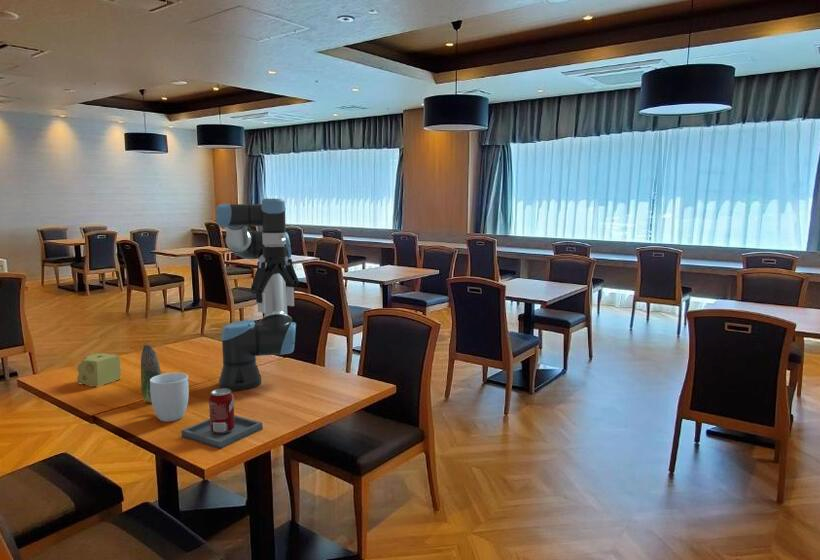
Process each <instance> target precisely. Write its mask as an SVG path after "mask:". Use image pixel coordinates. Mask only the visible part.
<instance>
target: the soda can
mask: <svg viewBox="0 0 820 560" xmlns="http://www.w3.org/2000/svg"><path fill="white" fill-rule="evenodd" d="M208 404H209V407H208V408H209V419H210V430H211V432H213V433H215V434H226V433H229V432H230V431H232V430H233V429H234V428H235V423H234V415H235V405H234V404H235V401H234V395H233V394H232V390H230V389H221V388H218V389H217V388H216V389H213V390H212V391H211V392H210V396H209V397H208Z"/></svg>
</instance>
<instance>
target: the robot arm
mask: <svg viewBox="0 0 820 560" xmlns="http://www.w3.org/2000/svg"><path fill="white" fill-rule="evenodd" d="M285 201H286V200H285V199H284V198H262V200H261V203H259V204H258V203H257V204H255V203H252V204H251V203H250V204H248V203H245V204H244V203H243V204H242V203H221V204H218V205H216V210H215V211H216V212H215V214H216V224H217V226H218V227H222V228H224V229H225V232H226V235H225V243H226V244H225V245H226V247H227V249H228V250H229V251H230V252H231V253H233V254H234V255H236V256H238V257H240V258H242V259H245V260H246V259H247V260H258V261H257V263H256V266H257V267H256V271H255V274H254V277H253V281H252V284H251V287H250V292H252V293H255V301H256V303H257V313H259V314H260V313H261V314H264V316H263V317H262V318H261V319H260V324H256V323H255V321H254V320H252V319H251V320H249V319H245V320H239V321H233V322H231V323H228V324H226V325H225V326H223V328H222V330H221V340H220V341H222V342H221V344H222V347H221V349H222V368H221V371H220V372H221V373H220V377H219V378H218V388H219V389H230V390H231V392H233V391H244V390H250V389H253V388H257V387H259V386H260V385H261V384H262V375H261V374H260V370H259V367H258V363H257V361H256V360H257V358H256V357H261V356H263V357H264V356H275V355H276V356H279V355H281V356H282V355H288V354H292V353H293V352H294V350H295V345H296V344H295V342H296V331H297V330H296V329H297V323H296V322H294V321H293V318H292V317H291V316H290V315H288V306H289V307H294V306H295V295H296V294H295V293H296V291H295V288H296V287H298V285H299V284H300V281H299V279H298V276H297V274H296V271H295V268H294V266H293V260H292V258H291V257H292V249H291V248H292V247H291V241H290V236H289V234H288V232H287V231H286V209H287V208H286V204H285V203H286V202H285ZM248 227H262V229H261V230H248Z"/></svg>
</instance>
